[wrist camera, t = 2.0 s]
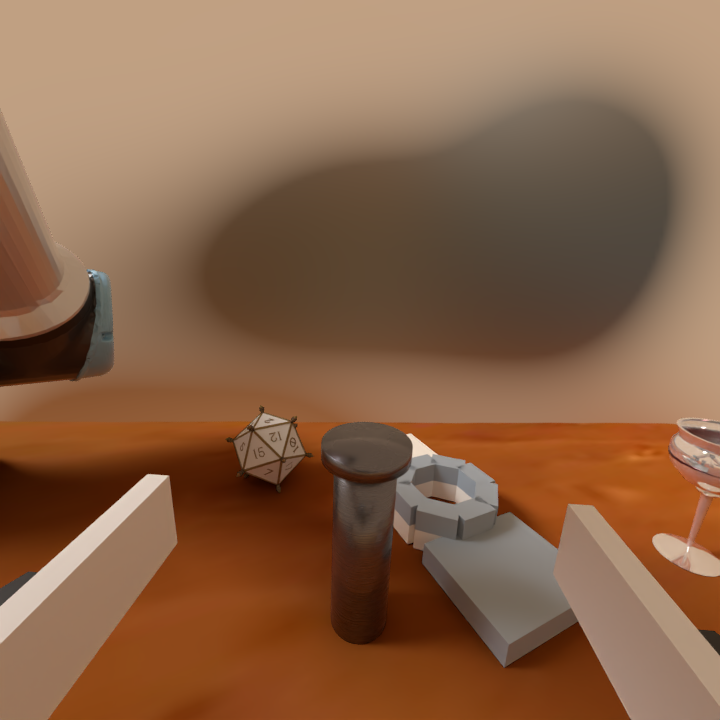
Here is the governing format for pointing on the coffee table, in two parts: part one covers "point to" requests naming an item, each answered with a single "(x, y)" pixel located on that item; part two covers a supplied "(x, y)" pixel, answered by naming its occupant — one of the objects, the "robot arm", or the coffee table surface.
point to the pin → (363, 522)
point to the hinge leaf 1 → (427, 490)
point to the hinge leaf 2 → (486, 558)
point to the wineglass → (712, 479)
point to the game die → (269, 448)
